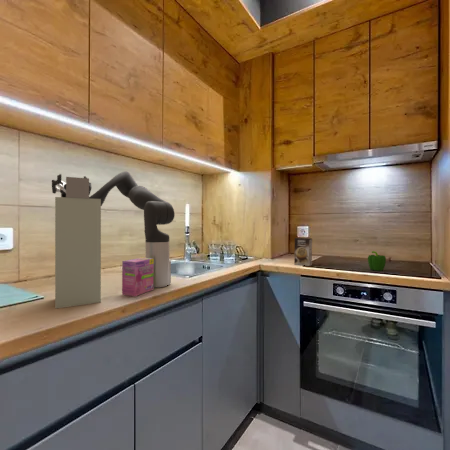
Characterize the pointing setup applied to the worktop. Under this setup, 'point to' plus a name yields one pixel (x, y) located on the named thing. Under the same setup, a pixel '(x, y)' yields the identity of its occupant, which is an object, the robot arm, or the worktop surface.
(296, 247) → the coffee box
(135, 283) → the box
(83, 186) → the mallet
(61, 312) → the worktop surface
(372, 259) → the bell pepper
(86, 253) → the stand
